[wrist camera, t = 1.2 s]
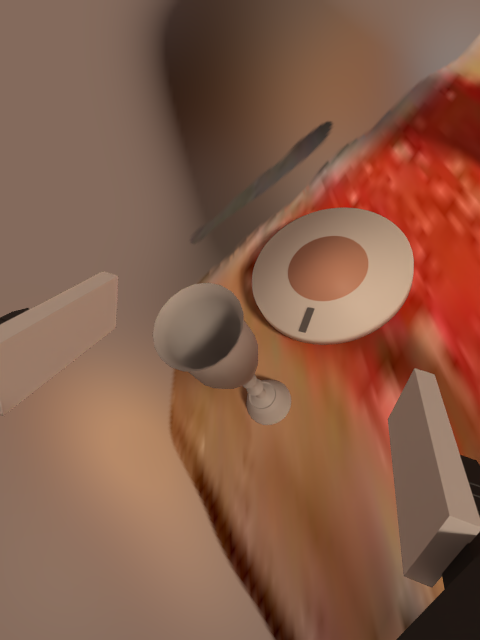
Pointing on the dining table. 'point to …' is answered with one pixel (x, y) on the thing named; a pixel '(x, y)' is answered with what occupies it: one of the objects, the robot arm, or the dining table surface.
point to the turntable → (333, 275)
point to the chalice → (217, 347)
